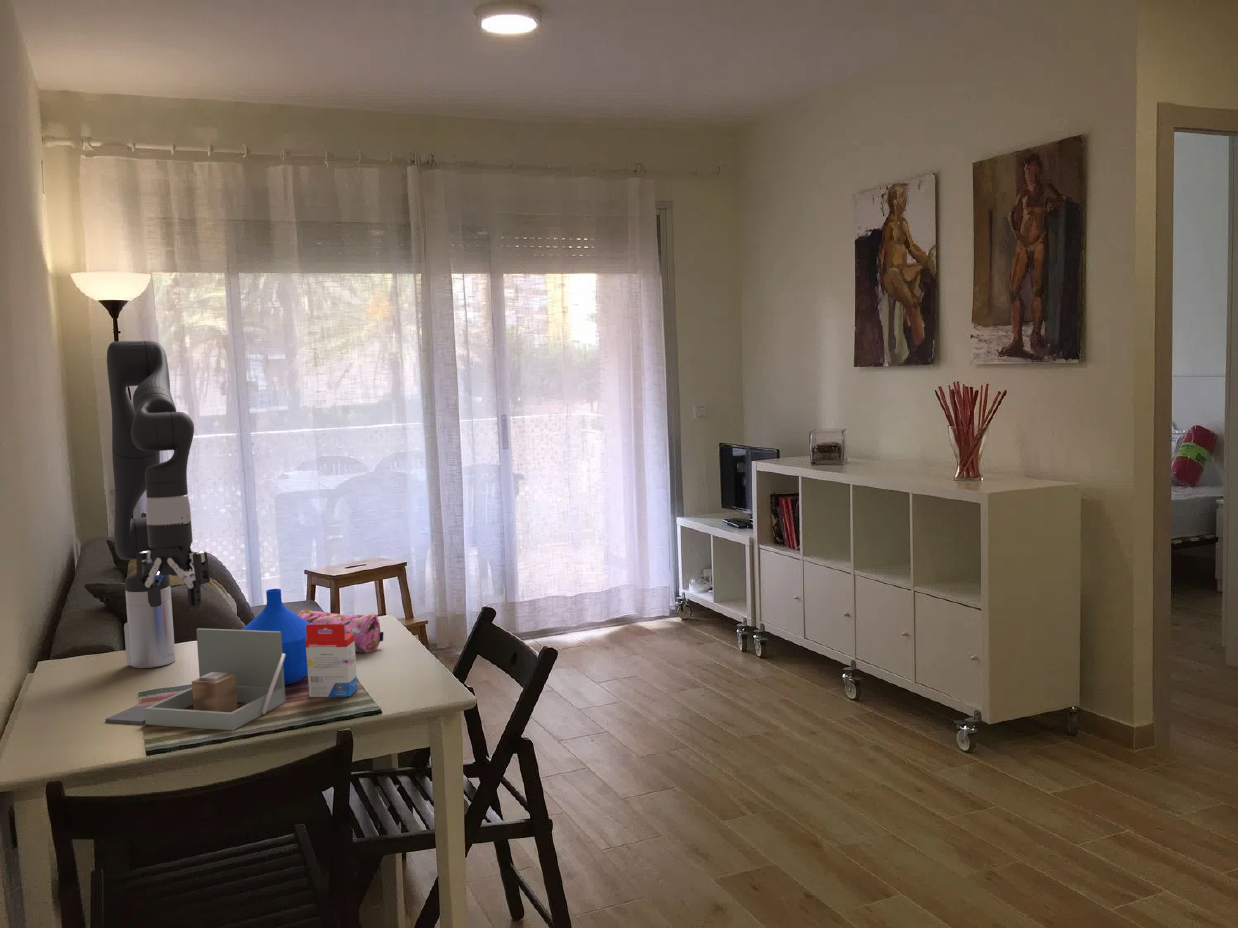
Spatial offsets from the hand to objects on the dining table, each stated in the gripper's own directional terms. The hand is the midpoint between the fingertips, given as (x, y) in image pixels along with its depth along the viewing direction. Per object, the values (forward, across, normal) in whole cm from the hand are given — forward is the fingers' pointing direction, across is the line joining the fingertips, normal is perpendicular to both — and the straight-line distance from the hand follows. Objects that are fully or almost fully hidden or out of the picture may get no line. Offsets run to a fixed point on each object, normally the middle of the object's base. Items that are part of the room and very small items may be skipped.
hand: (175, 606), depth 190 cm
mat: (+21, -9, -1) cm, 23 cm away
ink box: (+21, +20, +19) cm, 35 cm away
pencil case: (+21, +2, +51) cm, 55 cm away
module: (+21, +5, +4) cm, 22 cm away
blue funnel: (+21, +3, +26) cm, 33 cm away
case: (+21, +5, +4) cm, 22 cm away
